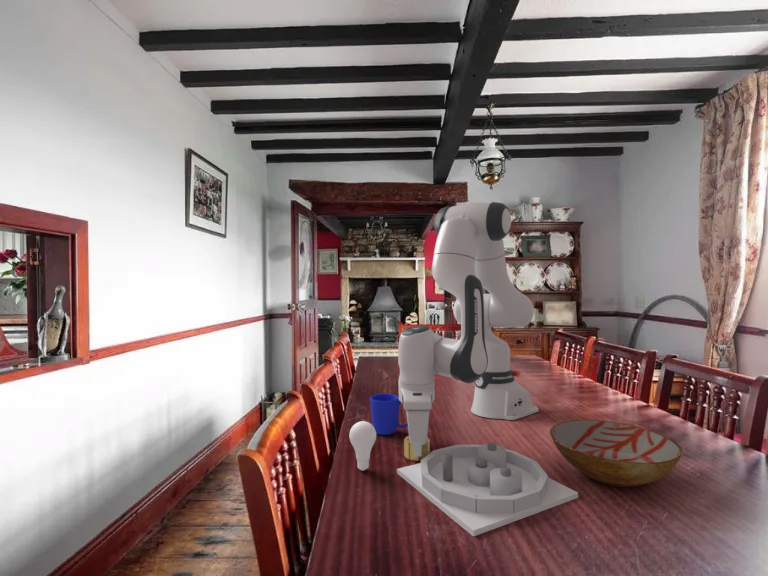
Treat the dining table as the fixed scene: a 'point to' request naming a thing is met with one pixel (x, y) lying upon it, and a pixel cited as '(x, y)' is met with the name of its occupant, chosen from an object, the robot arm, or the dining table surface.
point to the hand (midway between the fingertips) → (417, 448)
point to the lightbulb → (362, 442)
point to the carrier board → (467, 487)
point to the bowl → (615, 451)
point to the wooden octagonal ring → (410, 449)
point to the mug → (385, 413)
